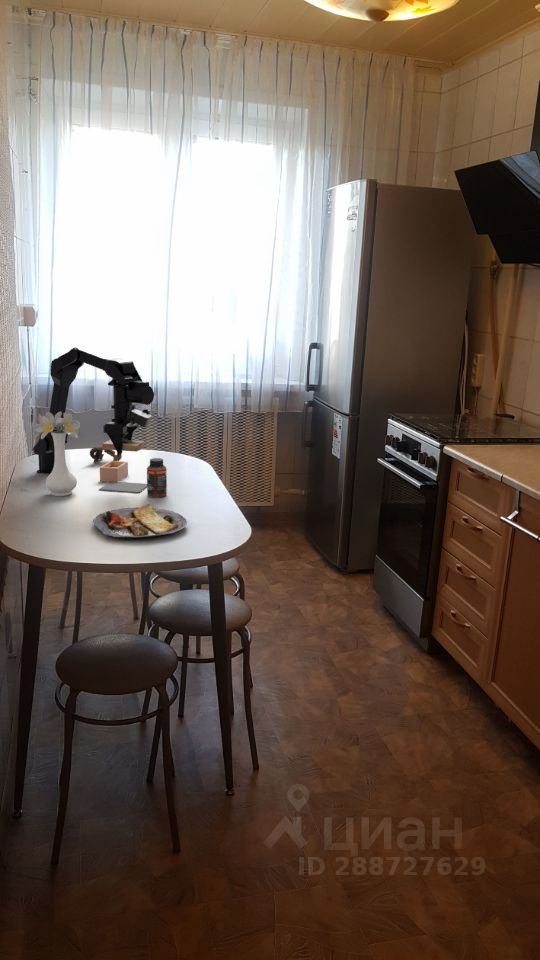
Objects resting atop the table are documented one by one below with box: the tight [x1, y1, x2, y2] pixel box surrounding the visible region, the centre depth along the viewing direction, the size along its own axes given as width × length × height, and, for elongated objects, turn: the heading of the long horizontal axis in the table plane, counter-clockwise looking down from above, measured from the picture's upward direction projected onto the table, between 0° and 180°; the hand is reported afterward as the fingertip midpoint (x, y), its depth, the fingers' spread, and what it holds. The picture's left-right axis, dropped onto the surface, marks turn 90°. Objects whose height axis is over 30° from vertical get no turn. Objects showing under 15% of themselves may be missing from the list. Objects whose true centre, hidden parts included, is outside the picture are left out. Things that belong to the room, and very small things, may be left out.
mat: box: [98, 481, 147, 494], centre depth 242 cm, size 13×10×1 cm
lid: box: [102, 438, 146, 453], centre depth 238 cm, size 7×11×3 cm, turn 81°
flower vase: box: [33, 411, 81, 497], centre depth 230 cm, size 13×18×25 cm
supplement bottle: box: [146, 457, 168, 498], centre depth 233 cm, size 6×6×11 cm
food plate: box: [91, 503, 188, 539], centre depth 203 cm, size 25×23×4 cm
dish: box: [99, 460, 129, 483], centre depth 253 cm, size 6×10×4 cm, turn 171°
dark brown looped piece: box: [89, 444, 123, 463], centre depth 273 cm, size 12×10×8 cm
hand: (123, 451), depth 239 cm, fingers closed on lid, 7 cm apart
